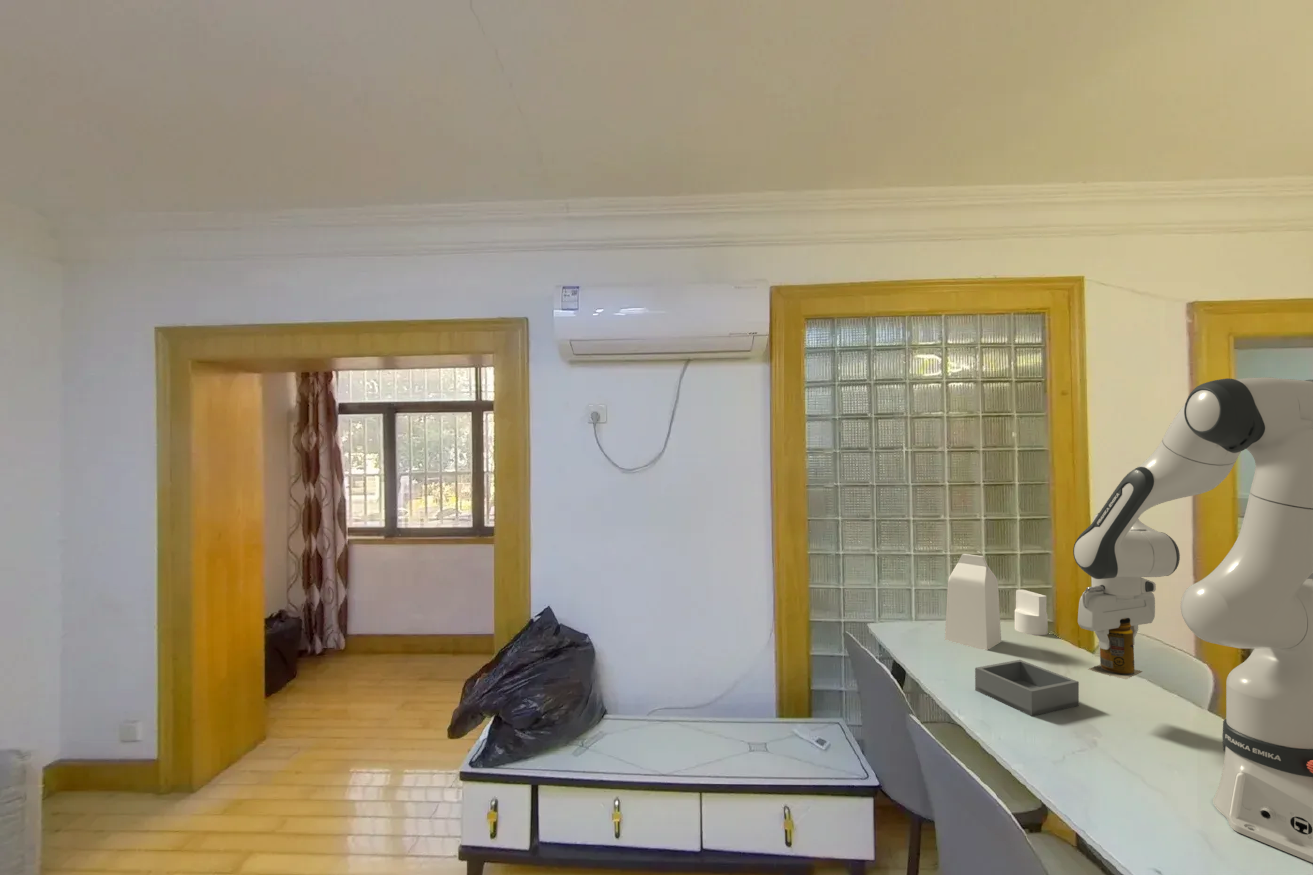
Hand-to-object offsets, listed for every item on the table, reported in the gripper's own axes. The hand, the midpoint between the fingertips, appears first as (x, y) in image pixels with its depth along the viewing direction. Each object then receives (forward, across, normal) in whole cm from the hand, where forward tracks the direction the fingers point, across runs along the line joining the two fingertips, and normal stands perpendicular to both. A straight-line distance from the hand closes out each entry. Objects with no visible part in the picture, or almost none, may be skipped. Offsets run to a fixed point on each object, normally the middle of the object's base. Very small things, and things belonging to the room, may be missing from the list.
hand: (1117, 646), depth 137 cm
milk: (+14, +12, +50) cm, 53 cm away
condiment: (+6, -1, 0) cm, 6 cm away
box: (+15, -10, +15) cm, 23 cm away
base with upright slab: (+14, +38, +51) cm, 65 cm away
